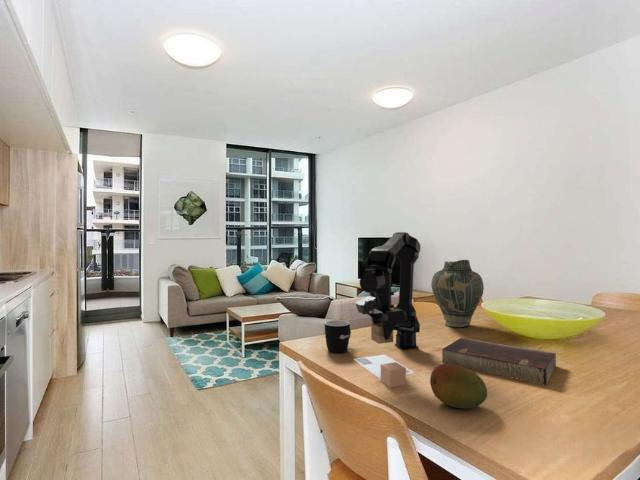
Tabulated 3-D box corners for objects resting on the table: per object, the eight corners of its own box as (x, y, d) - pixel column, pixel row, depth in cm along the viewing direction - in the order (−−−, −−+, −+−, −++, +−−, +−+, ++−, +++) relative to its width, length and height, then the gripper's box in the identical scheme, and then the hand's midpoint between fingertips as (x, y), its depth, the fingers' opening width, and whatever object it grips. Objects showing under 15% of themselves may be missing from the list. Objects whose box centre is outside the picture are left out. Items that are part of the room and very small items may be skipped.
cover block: (396, 379, 107) (395, 362, 107) (405, 386, 102) (405, 368, 102) (380, 381, 105) (380, 364, 105) (390, 388, 101) (389, 370, 101)
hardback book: (555, 367, 116) (555, 351, 116) (546, 387, 102) (546, 369, 102) (461, 349, 135) (461, 336, 134) (442, 364, 120) (442, 349, 120)
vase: (492, 331, 157) (492, 260, 156) (439, 332, 157) (439, 261, 156) (471, 319, 179) (471, 257, 178) (425, 319, 179) (425, 257, 179)
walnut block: (385, 337, 121) (385, 322, 120) (393, 341, 116) (393, 326, 116) (371, 339, 119) (371, 323, 119) (379, 343, 114) (378, 327, 114)
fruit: (424, 395, 96) (424, 357, 96) (471, 393, 97) (471, 355, 97) (443, 418, 84) (443, 374, 84) (496, 415, 85) (496, 372, 85)
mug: (339, 356, 127) (339, 327, 127) (319, 351, 133) (319, 323, 132) (359, 348, 136) (359, 320, 136) (340, 343, 142) (340, 317, 141)
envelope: (384, 355, 128) (384, 354, 128) (415, 373, 111) (415, 372, 111) (353, 359, 124) (353, 358, 124) (379, 379, 107) (379, 378, 107)
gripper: (346, 285, 123) (346, 332, 123) (373, 294, 105) (373, 349, 106) (376, 283, 127) (376, 329, 127) (407, 291, 109) (407, 344, 110)
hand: (382, 337), depth 117 cm, fingers closed on walnut block, 5 cm apart
